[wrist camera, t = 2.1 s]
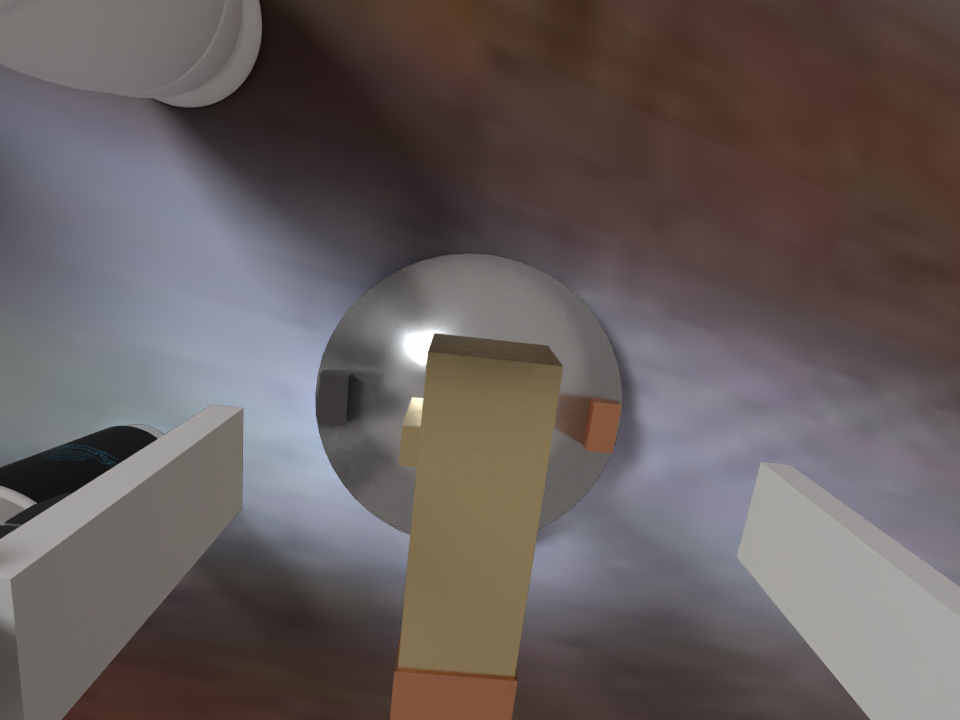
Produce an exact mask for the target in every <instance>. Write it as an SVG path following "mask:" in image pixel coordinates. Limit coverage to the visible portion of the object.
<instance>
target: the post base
mask: <svg viewBox="0 0 960 720" xmlns="http://www.w3.org/2000/svg"><path fill="white" fill-rule="evenodd" d="M434 333H438V334H447V335H456V336H465V337H474V338H484V339H493V340H502V341H511V342H520V343H529V344H539V345H548V346H549V347H550V349H551V350H552V352H553V353H554V354H555V356H556V357H557V358H558V360H559V361H560V363H561V364H562V365H563V372H562V378H561V384H560V391H559V397H558V404H557V410H556V416H555V423H554V429H553V435H552V442H551V448H550V455H549V461H548V467H547V474H546V480H545V487H544V493H543V499H542V506H541V512H540V518H539V525H538V530H539V529H541V528H543V527H545V526H547V525H549V524H550V523H552V522H553V521H555V520H557V519H558V518H560V517H561V516H562V515H564V514H565V513H566V512H567V511H569V510H570V509H571V508H572V507H574V506H575V505H576V504H577V503H578V502H579V501H580V500H581V499H582V498H583V497H584V496H585V495H586V493H587V492H588V491H589V490H590V489H591V487H592V486H593V485H594V483H595V482H596V481H597V479H598V478H599V476H600V475H601V473H602V471H603V469H604V468H605V466H606V464H607V462H608V460H609V458H610V455H611V453H613V449H614V446H615V443H616V439H617V435H618V431H619V427H620V421H621V413H622V385H621V379H620V372H619V367H618V364H617V361H616V357H615V354H614V351H613V348H612V346H611V344H610V342H609V340H608V337H607V335H606V333H605V331H604V330H603V328H602V327H601V325H600V323H599V322H598V320H597V319H596V317H595V316H594V314H593V313H592V312H591V311H590V310H589V309H588V307H587V306H586V305H585V304H584V303H583V302H582V300H581V299H580V298H578V297H577V296H576V295H575V294H574V293H573V292H572V291H570V290H569V289H568V288H567V287H566V286H565V285H563V284H562V283H560V282H559V281H557V280H556V279H554V278H553V277H551V276H550V275H548V274H546V273H544V272H542V271H540V270H538V269H536V268H534V267H532V266H530V265H527V264H525V263H522V262H519V261H516V260H513V259H510V258H506V257H501V256H496V255H490V254H479V253H460V254H448V255H442V256H438V257H433V258H429V259H425V260H422V261H420V262H417V263H414V264H411V265H409V266H406V267H404V268H402V269H401V270H399V271H397V272H395V273H393V274H391V275H389V276H387V277H385V278H384V279H383V280H381V281H380V282H378V283H377V284H376V285H374V286H373V287H372V288H370V289H369V290H368V291H367V292H365V293H364V294H363V295H362V296H361V297H360V298H359V299H358V300H357V301H356V302H355V303H354V304H353V305H352V306H351V308H350V309H349V310H348V311H347V313H346V314H345V315H344V316H343V318H342V319H341V320H340V322H339V324H338V325H337V327H336V329H335V330H334V332H333V334H332V335H331V337H330V339H329V342H328V344H327V347H326V349H325V352H324V354H323V357H322V360H321V364H320V368H319V372H318V377H317V386H316V416H317V422H318V428H319V433H320V437H321V440H322V443H323V446H324V450H325V452H326V454H327V456H328V459H329V461H330V463H331V465H332V467H333V469H334V471H335V472H336V474H337V475H338V477H339V478H340V480H341V482H342V483H343V484H344V486H345V487H346V488H347V489H348V490H349V492H350V493H351V494H352V495H353V496H354V498H355V499H356V500H357V501H359V502H360V503H361V504H362V505H363V506H364V507H365V508H366V509H367V510H368V511H370V512H371V513H372V514H374V515H375V516H376V517H378V518H379V519H381V520H382V521H383V522H385V523H387V524H389V525H390V526H392V527H394V528H396V529H398V530H400V531H402V532H404V533H407V534H409V535H410V534H411V523H412V513H413V502H414V492H415V481H416V470H417V467H409V466H399V457H400V445H401V433H402V425H403V422H404V419H405V416H406V413H407V410H408V407H409V405H410V402H411V399H412V397H414V398H423V396H424V385H425V375H426V364H427V354H428V350H429V347H430V344H431V341H432V338H433V335H434Z"/></svg>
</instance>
